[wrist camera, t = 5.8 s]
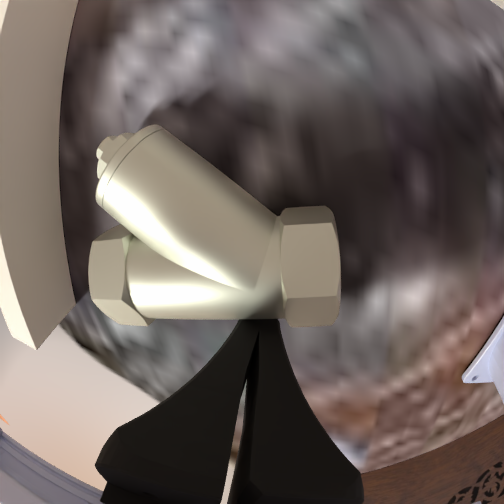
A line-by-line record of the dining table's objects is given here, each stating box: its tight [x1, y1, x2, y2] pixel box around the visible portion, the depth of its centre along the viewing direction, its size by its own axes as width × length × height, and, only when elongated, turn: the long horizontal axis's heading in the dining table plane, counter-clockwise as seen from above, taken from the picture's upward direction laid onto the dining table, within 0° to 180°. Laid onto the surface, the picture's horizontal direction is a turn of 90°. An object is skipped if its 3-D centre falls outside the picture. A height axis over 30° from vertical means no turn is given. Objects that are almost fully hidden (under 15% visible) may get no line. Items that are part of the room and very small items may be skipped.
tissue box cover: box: [361, 415, 504, 504], centre depth 17 cm, size 26×14×10 cm, turn 123°
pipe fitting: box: [88, 125, 341, 327], centre depth 9 cm, size 8×4×7 cm
